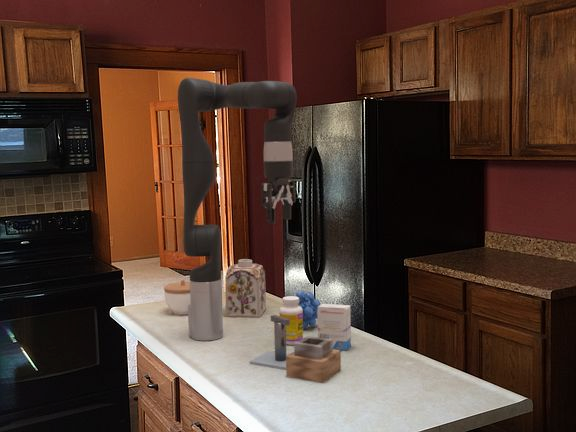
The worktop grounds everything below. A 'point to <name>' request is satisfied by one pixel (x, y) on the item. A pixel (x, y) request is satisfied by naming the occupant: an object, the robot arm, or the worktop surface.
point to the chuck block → (313, 359)
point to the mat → (269, 360)
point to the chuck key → (280, 336)
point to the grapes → (308, 308)
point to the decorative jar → (245, 289)
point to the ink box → (335, 325)
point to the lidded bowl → (178, 297)
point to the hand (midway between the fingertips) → (279, 221)
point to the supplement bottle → (292, 319)
